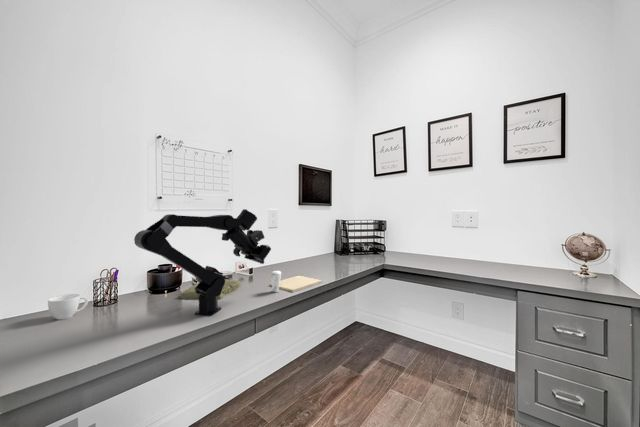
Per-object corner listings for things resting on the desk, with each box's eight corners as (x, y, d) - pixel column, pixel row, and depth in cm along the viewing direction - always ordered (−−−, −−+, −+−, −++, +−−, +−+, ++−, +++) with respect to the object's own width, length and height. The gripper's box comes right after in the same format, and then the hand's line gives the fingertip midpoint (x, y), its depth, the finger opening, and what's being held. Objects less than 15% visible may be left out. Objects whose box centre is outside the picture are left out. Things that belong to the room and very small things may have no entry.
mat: (293, 292, 118) (293, 289, 118) (269, 285, 128) (269, 283, 128) (322, 282, 133) (322, 280, 133) (299, 277, 143) (298, 275, 143)
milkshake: (275, 289, 122) (275, 267, 122) (283, 291, 119) (283, 268, 119) (267, 291, 119) (267, 268, 119) (275, 293, 116) (275, 270, 115)
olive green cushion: (179, 299, 110) (179, 291, 110) (205, 285, 130) (205, 278, 130) (223, 301, 108) (223, 292, 108) (242, 286, 128) (242, 279, 128)
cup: (48, 317, 91) (47, 297, 91) (86, 309, 98) (86, 291, 98) (48, 324, 86) (48, 303, 86) (89, 315, 93) (89, 295, 93)
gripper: (267, 224, 103) (288, 250, 112) (239, 223, 115) (260, 246, 124) (250, 247, 97) (273, 272, 106) (222, 243, 109) (245, 266, 118)
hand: (263, 262), depth 114 cm, fingers closed
